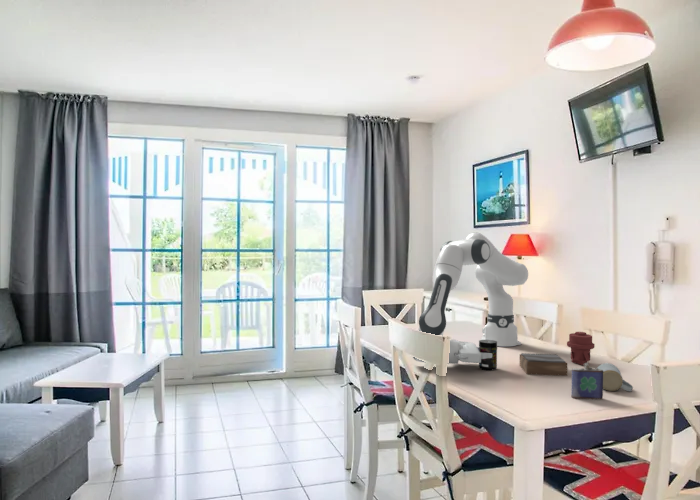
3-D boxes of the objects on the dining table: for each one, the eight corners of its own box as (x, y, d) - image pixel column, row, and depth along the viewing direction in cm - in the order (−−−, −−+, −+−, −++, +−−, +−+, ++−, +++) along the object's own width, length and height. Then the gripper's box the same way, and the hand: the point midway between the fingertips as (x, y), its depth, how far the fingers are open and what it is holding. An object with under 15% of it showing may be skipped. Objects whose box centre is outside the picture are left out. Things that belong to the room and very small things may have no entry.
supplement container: (498, 367, 193) (498, 340, 193) (495, 371, 187) (495, 343, 187) (480, 365, 196) (481, 339, 196) (476, 369, 190) (477, 342, 190)
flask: (572, 398, 154) (573, 364, 154) (569, 395, 157) (570, 361, 157) (604, 399, 154) (604, 364, 153) (600, 397, 156) (600, 362, 156)
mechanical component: (590, 361, 204) (597, 367, 195) (564, 359, 206) (569, 365, 197) (590, 330, 204) (597, 335, 194) (564, 329, 206) (570, 334, 196)
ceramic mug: (598, 391, 163) (599, 367, 163) (594, 384, 171) (595, 361, 170) (635, 394, 159) (636, 370, 159) (630, 387, 167) (630, 364, 167)
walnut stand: (519, 365, 196) (519, 352, 196) (557, 366, 194) (557, 354, 194) (527, 374, 183) (527, 360, 183) (567, 375, 181) (567, 361, 181)
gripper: (455, 349, 182) (494, 350, 181) (451, 338, 203) (486, 339, 201) (455, 366, 182) (494, 367, 181) (451, 354, 203) (486, 355, 201)
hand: (490, 352), depth 191 cm, fingers closed on supplement container, 7 cm apart
